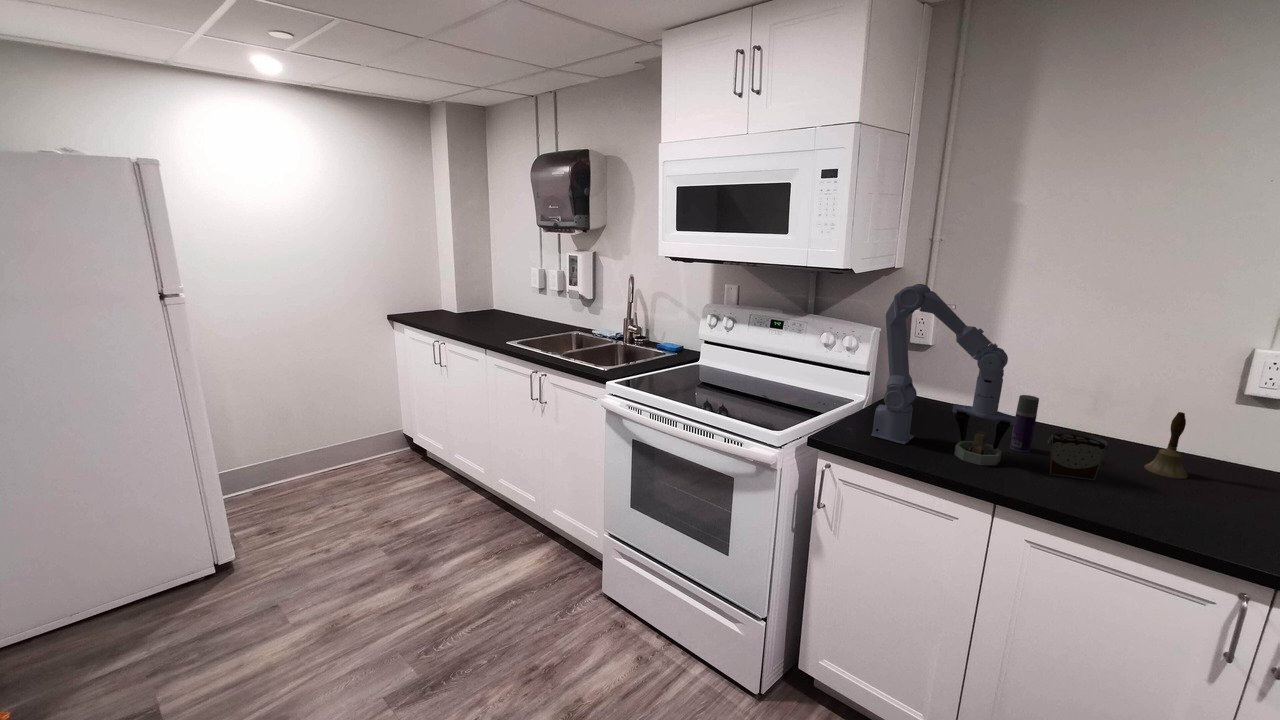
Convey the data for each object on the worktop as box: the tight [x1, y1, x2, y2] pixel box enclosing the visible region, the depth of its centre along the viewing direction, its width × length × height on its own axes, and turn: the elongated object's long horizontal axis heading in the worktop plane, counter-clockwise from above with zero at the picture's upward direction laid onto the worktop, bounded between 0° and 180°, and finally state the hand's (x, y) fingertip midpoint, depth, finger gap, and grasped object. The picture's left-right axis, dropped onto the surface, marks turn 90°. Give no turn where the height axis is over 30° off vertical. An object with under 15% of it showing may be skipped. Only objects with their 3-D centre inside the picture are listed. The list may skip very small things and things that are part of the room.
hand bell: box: [1144, 411, 1189, 480], centre depth 144 cm, size 8×8×16 cm
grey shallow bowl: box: [954, 440, 1003, 466], centre depth 153 cm, size 10×10×3 cm
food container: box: [1047, 430, 1110, 481], centre depth 144 cm, size 12×6×10 cm, turn 71°
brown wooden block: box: [972, 430, 988, 455], centre depth 152 cm, size 2×4×6 cm, turn 137°
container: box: [1009, 394, 1040, 453], centre depth 157 cm, size 5×5×15 cm
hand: (979, 443), depth 152 cm, fingers open, 7 cm apart
